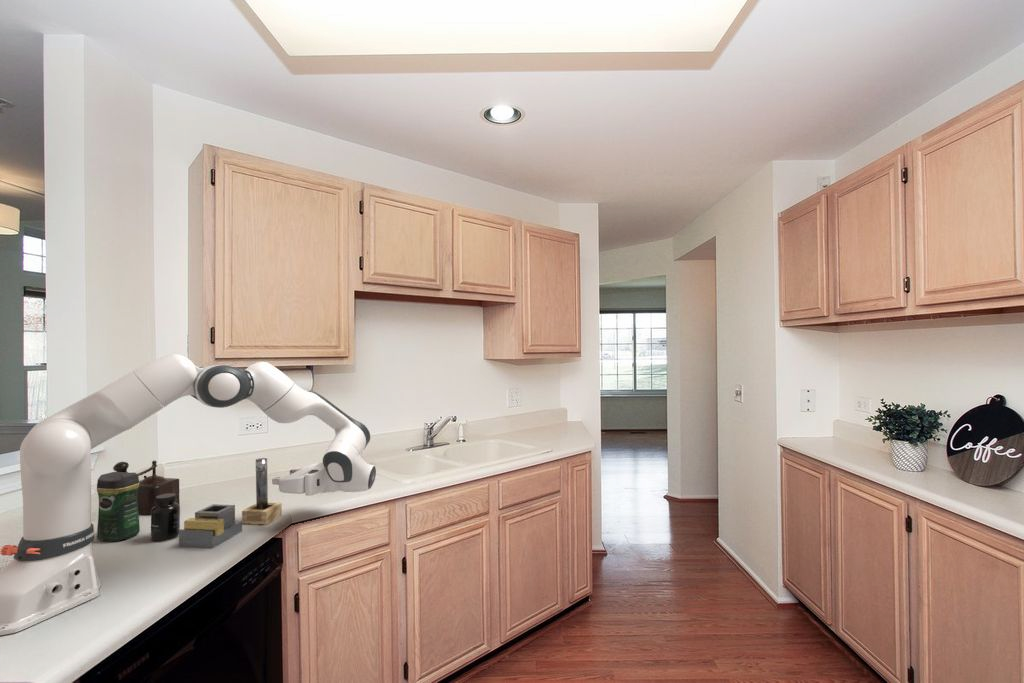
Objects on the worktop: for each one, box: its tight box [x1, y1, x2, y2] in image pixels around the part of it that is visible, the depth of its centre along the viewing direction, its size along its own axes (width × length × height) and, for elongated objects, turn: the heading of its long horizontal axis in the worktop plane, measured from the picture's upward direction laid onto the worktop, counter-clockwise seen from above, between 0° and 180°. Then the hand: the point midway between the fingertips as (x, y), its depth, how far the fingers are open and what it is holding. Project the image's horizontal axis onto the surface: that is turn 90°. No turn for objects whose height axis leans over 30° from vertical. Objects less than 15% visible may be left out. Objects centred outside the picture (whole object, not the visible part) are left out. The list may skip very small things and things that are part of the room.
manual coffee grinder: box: [112, 460, 181, 517], centre depth 161 cm, size 16×11×18 cm
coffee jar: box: [96, 471, 141, 542], centre depth 141 cm, size 10×8×19 cm
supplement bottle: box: [150, 493, 181, 543], centre depth 140 cm, size 7×7×12 cm
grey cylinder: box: [255, 457, 269, 510], centre depth 154 cm, size 3×3×18 cm
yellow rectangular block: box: [183, 517, 224, 536], centre depth 135 cm, size 2×10×4 cm, turn 83°
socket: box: [178, 504, 243, 549], centre depth 139 cm, size 12×10×8 cm
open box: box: [241, 502, 283, 526], centre depth 154 cm, size 8×8×4 cm
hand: (282, 476), depth 154 cm, fingers open, 8 cm apart
